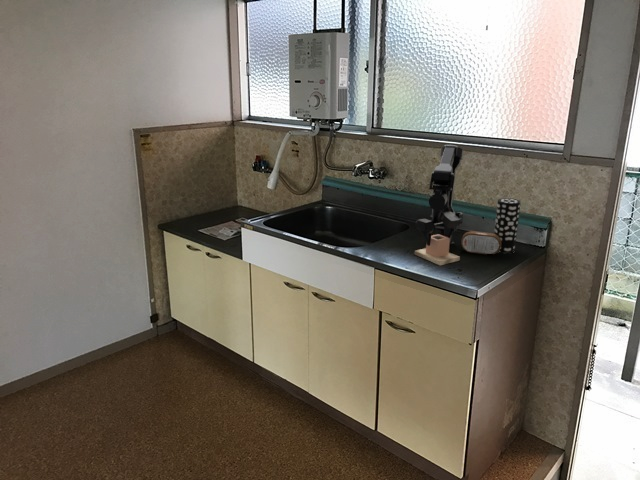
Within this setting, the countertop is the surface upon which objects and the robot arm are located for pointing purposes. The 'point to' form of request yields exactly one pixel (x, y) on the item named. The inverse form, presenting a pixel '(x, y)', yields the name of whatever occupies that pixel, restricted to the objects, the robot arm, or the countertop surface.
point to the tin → (481, 242)
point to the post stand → (437, 260)
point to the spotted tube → (507, 223)
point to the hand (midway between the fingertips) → (437, 243)
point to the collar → (438, 246)
